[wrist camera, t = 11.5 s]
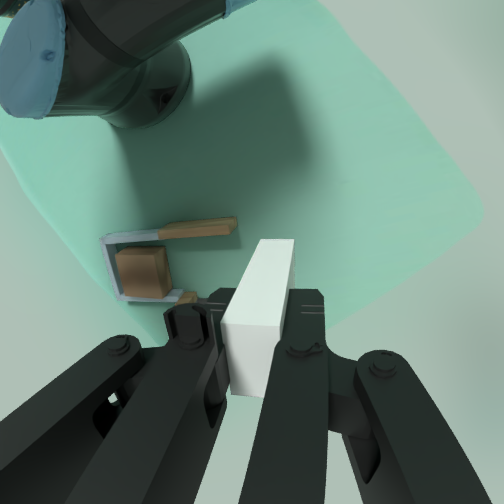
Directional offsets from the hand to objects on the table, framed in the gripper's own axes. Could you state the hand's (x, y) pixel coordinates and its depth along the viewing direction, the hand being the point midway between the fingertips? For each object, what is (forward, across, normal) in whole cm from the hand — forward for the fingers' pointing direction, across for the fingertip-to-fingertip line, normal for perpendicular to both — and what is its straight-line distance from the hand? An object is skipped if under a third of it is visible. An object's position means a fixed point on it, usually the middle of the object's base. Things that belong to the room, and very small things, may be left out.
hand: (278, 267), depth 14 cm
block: (+26, -23, -12) cm, 37 cm away
